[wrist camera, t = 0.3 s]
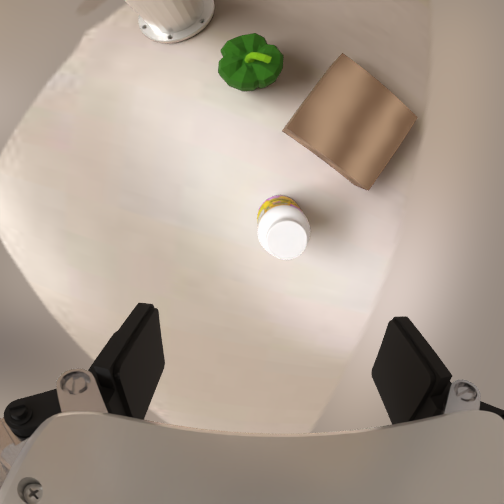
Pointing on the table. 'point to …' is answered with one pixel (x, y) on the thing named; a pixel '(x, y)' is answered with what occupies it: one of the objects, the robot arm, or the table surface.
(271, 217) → the supplement bottle
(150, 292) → the table surface
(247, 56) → the bell pepper
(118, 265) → the table surface
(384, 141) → the walnut block
